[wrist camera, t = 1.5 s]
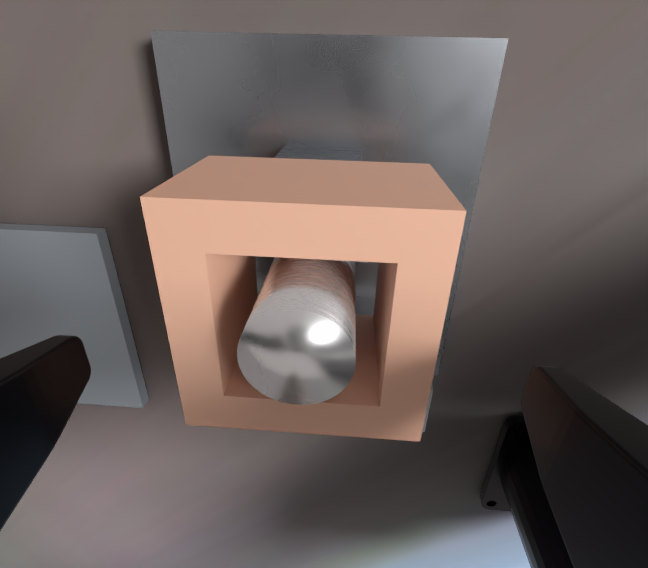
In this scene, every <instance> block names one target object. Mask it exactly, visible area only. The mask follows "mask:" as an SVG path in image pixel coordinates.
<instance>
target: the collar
mask: <svg viewBox="0 0 648 568" xmlns="http://www.w3.org/2000/svg"><path fill="white" fill-rule="evenodd" d="M140 200H141V205H142V210H143V215H144V220H145V225H146V230H147V235H148V240H149V245H150V250H151V255H152V260H153V265H154V270H155V274H156V279H157V284H158V289H159V294H160V299H161V304H162V309H163V314H164V319H165V324H166V329H167V334H168V339H169V344H170V349H171V353H172V358H173V363H174V368H175V373H176V378H177V383H178V388H179V393H180V398H181V403H182V408H183V413H184V418H185V423H186V425H195V426H209V427H223V428H237V429H251V430H265V431H279V432H293V433H307V434H321V435H335V436H349V437H363V438H377V439H391V440H405V441H419V442H420V440H421V435H422V430H423V425H424V420H425V415H426V410H427V405H428V400H429V395H430V390H431V385H432V380H433V375H434V370H435V365H436V360H437V355H438V350H439V345H440V340H441V335H442V330H443V326H444V321H445V316H446V311H447V306H448V301H449V296H450V291H451V286H452V281H453V276H454V271H455V266H456V261H457V256H458V251H459V246H460V241H461V236H462V231H463V226H464V221H465V216H466V210H465V208H464V207H463V206H462V204H461V203H460V202H459V201H458V199H457V198H456V197H455V195H454V194H453V193H452V192H451V190H450V189H449V188H448V186H447V185H446V184H445V183H444V181H443V180H442V179H441V178H440V176H439V175H438V174H437V172H436V171H435V170H434V169H433V167H432V166H431V165H430V164H423V163H396V162H370V161H343V160H316V159H290V158H263V157H236V156H210V155H209V156H207V157H206V158H204V159H202V160H201V161H199V162H197V163H196V164H194V165H192V166H191V167H189V168H187V169H185V170H184V171H182V172H180V173H179V174H177V175H175V176H174V177H172V178H170V179H169V180H167V181H165V182H164V183H162V184H160V185H159V186H157V187H155V188H154V189H152V190H150V191H149V192H147V193H145V194H144V195H142V196H140ZM255 256H261V257H281V258H301V259H321V260H341V261H361V262H379V263H378V273H377V283H376V293H375V303H374V314H373V315H356V366H355V371H354V374H353V377H352V379H351V381H350V382H349V384H348V385H347V386H346V388H344V389H343V390H342V391H341V392H340V393H339V394H337V395H336V396H334V397H332V398H331V399H328V400H326V401H323V402H320V403H315V404H308V405H295V404H288V403H283V402H280V401H277V400H274V399H272V398H269V397H267V396H265V395H264V394H262V393H260V392H259V391H258V390H256V389H255V388H254V387H253V386H252V385H251V384H250V383H249V382H248V381H247V380H246V378H245V377H244V375H243V374H242V372H241V370H240V367H239V364H238V360H237V347H238V343H239V340H240V337H241V335H242V333H243V330H244V328H245V326H246V323H247V321H248V319H249V316H250V314H251V312H252V309H253V307H254V304H255V302H256V300H257V297H258V293H257V278H256V263H255Z"/></svg>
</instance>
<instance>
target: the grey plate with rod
mask: <svg viewBox="0 0 648 568" xmlns="http://www.w3.org/2000/svg"><path fill="white" fill-rule="evenodd" d="M151 38H152V44H153V50H154V57H155V63H156V70H157V76H158V82H159V89H160V95H161V101H162V108H163V114H164V120H165V127H166V133H167V139H168V146H169V152H170V158H171V165H172V171H173V177H174V176H175V175H177V174H179V173H180V172H182V171H184V170H185V169H187V168H189V167H191V166H192V165H194V164H196V163H197V162H199V161H201V160H202V159H204V158H206V157H207V156H209V155H210V156H236V157H263V158H290V159H316V160H343V161H370V162H396V163H423V164H430V165H431V166H432V167H433V169H434V170H435V171H436V172H437V174H438V175H439V176H440V178H441V179H442V180H443V181H444V183H445V184H446V185H447V186H448V188H449V189H450V190H451V192H452V193H453V194H454V195H455V197H456V198H457V199H458V201H459V202H460V203H461V204H462V206H463V207H464V208H465V210H466V216H465V221H464V226H463V231H462V236H461V241H460V246H459V251H458V256H457V261H456V266H455V271H454V276H453V281H452V286H451V291H450V296H449V301H448V306H447V311H446V316H445V321H444V326H443V330H442V335H441V340H440V345H439V350H438V355H437V360H436V365H435V370H434V375H433V376H438V373H439V368H440V363H441V359H442V354H443V349H444V344H445V339H446V335H447V330H448V325H449V320H450V315H451V311H452V306H453V301H454V296H455V292H456V287H457V282H458V277H459V272H460V268H461V263H462V258H463V253H464V248H465V244H466V239H467V234H468V229H469V224H470V220H471V215H472V210H473V205H474V200H475V196H476V191H477V186H478V181H479V176H480V172H481V167H482V162H483V157H484V153H485V148H486V143H487V138H488V133H489V129H490V124H491V119H492V114H493V109H494V105H495V100H496V95H497V90H498V85H499V81H500V76H501V71H502V66H503V61H504V57H505V52H506V47H507V42H508V39H505V38H459V37H414V36H368V35H323V34H278V33H232V32H187V31H151ZM255 263H256V278H257V293H258V297H257V300H256V302H255V304H254V307H253V309H252V312H251V314H250V316H249V319H248V321H247V323H246V326H245V328H244V330H243V333H242V335H241V337H240V340H239V343H238V347H237V360H238V364H239V367H240V370H241V372H242V374H243V375H244V377H245V378H246V380H247V381H248V382H249V383H250V384H251V385H252V386H253V387H254V388H255V389H256V390H258V391H259V392H260V393H262V394H264V395H265V396H267V397H269V398H272V399H274V400H277V401H280V402H283V403H288V404H295V405H308V404H315V403H320V402H323V401H326V400H328V399H331V398H332V397H334V396H336V395H337V394H339V393H340V392H341V391H342V390H343V389H344V388H346V386H347V385H348V384H349V382H350V381H351V379H352V377H353V374H354V371H355V366H356V315H373V314H374V303H375V293H376V283H377V273H378V263H379V262H361V261H341V260H321V259H301V258H281V257H261V256H255ZM433 390H434V389H433V385H431V390H430V395H429V400H428V405H427V410H426V415H425V420H424V425H423V430H422V432H425V428H426V423H427V419H428V414H429V409H430V404H431V399H432V394H433Z"/></svg>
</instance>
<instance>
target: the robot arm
mask: <svg viewBox="0 0 648 568" xmlns="http://www.w3.org/2000/svg"><path fill="white" fill-rule="evenodd" d="M90 375H91V366H90V363H89V360H88V357H87V354H86V351H85V348H84V344H83V342H82V340H81V339H80V338H79V337H77V336H70V335H56V336H53V337H51V338H48V339H46V340H43V341H41V342H38V343H36V344H34V345H31V346H29V347H26V348H24V349H22V350H19V351H17V352H14V353H12V354H10V355H7V356H5V357H2V358H0V531H1V529H2V528H3V526H4V524H5V523H6V521H7V520H8V518H9V517H10V515H11V514H12V512H13V510H14V509H15V507H16V506H17V504H18V503H19V501H20V500H21V498H22V496H23V495H24V493H25V492H26V490H27V489H28V487H29V486H30V484H31V483H32V481H33V479H34V478H35V476H36V475H37V473H38V472H39V470H40V469H41V467H42V465H43V464H44V462H45V461H46V459H47V458H48V456H49V454H50V453H51V451H52V449H53V448H54V446H55V444H56V442H57V441H58V439H59V437H60V435H61V433H62V431H63V429H64V428H65V426H66V424H67V422H68V420H69V418H70V416H71V414H72V412H73V410H74V408H75V406H76V404H77V402H78V400H79V398H80V397H81V395H82V393H83V391H84V389H85V387H86V385H87V383H88V381H89V379H90ZM521 407H522V412H523V415H524V416H512V417H510V418H508V419H507V420H506V421H505V423H504V426H503V429H502V432H501V434H500V437H499V440H498V443H497V446H496V449H495V452H494V455H493V458H492V461H491V464H490V467H489V470H488V473H487V476H486V479H485V482H484V485H483V488H482V491H481V494H480V500H481V504H482V506H483V507H484V508H486V509H491V510H504V511H511V512H512V515H513V518H514V521H515V524H516V526H517V529H518V532H519V535H520V538H521V541H522V543H523V546H524V549H525V552H526V555H527V558H528V560H529V563H530V566H531V568H648V425H646V424H645V423H643V422H642V421H640V420H639V419H637V418H635V417H634V416H632V415H631V414H629V413H628V412H626V411H625V410H623V409H622V408H620V407H619V406H617V405H616V404H614V403H613V402H611V401H610V400H608V399H607V398H605V397H603V396H602V395H600V394H599V393H597V392H596V391H594V390H593V389H591V388H590V387H588V386H587V385H585V384H584V383H582V382H581V381H579V380H578V379H576V378H575V377H573V376H572V375H570V374H568V373H567V372H565V371H564V370H562V369H561V368H559V367H556V366H545V365H536V366H534V367H533V368H532V369H531V372H530V374H529V377H528V380H527V383H526V386H525V389H524V392H523V394H522V399H521Z"/></svg>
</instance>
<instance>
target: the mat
mask: <svg viewBox="0 0 648 568" xmlns="http://www.w3.org/2000/svg"><path fill="white" fill-rule="evenodd" d="M56 335H70V336H77V337H79V338H80V339H81V340H82V342H83V344H84V348H85V351H86V354H87V357H88V360H89V363H90V366H91V375H90V379H89V381H88V383H87V385H86V387H85V389H84V391H83V393H82V395H81V397H80V398H79V400H78V402H77V403H79V404H94V405H108V406H122V407H137V408H143V407H144V406H145V404H146V403H147V401H148V399H149V398H148V394H147V390H146V386H145V382H144V378H143V374H142V370H141V366H140V362H139V358H138V354H137V351H136V347H135V343H134V339H133V335H132V331H131V327H130V323H129V319H128V315H127V311H126V307H125V303H124V299H123V295H122V292H121V288H120V284H119V280H118V276H117V272H116V268H115V264H114V260H113V256H112V252H111V248H110V244H109V240H108V237H107V233H106V229H105V228H91V227H70V226H49V225H28V224H7V223H0V358H2V357H5V356H7V355H10V354H12V353H14V352H17V351H19V350H22V349H24V348H26V347H29V346H31V345H34V344H36V343H38V342H41V341H43V340H46V339H48V338H51V337H53V336H56Z"/></svg>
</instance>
